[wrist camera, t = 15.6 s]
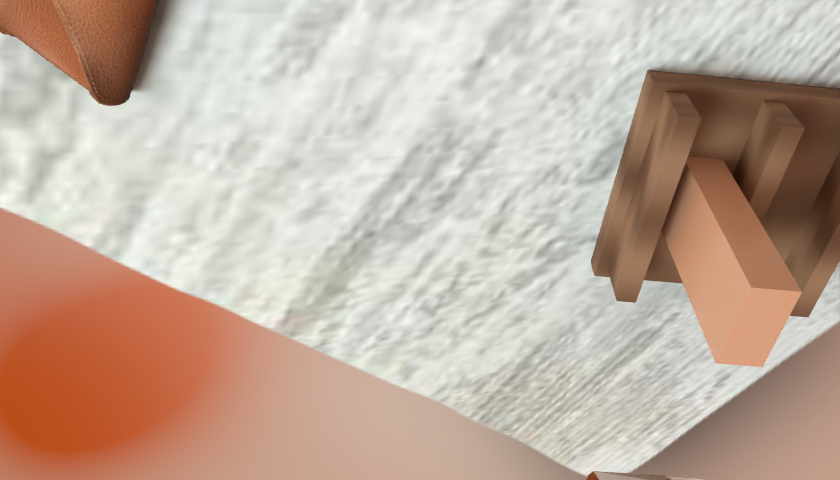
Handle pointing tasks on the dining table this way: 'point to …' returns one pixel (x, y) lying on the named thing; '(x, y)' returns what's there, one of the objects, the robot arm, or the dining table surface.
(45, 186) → the dining table surface
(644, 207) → the rack
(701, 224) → the clay slab
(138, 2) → the sunglasses case
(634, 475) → the robot arm
